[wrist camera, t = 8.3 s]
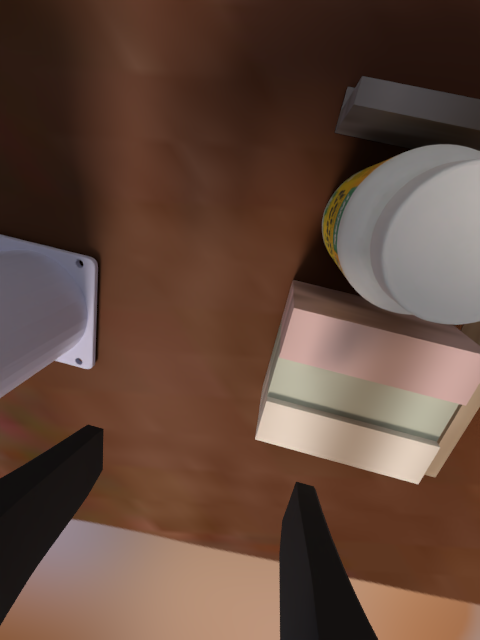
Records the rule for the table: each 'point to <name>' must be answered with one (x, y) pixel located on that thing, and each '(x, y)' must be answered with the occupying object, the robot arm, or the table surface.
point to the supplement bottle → (412, 233)
